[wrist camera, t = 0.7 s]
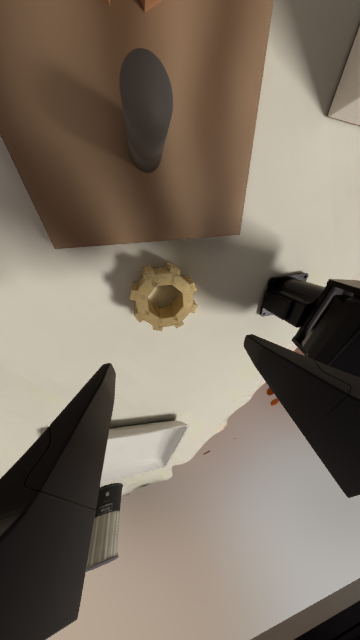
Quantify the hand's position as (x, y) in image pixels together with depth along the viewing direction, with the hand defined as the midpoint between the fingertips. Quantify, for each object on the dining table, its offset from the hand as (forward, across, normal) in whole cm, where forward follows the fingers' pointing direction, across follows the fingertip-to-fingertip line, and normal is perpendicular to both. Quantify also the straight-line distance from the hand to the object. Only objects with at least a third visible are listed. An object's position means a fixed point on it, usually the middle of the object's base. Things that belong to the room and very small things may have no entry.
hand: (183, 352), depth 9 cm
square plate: (+12, +15, +41) cm, 45 cm away
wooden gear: (+11, 0, 0) cm, 11 cm away
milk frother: (+11, +32, +76) cm, 83 cm away
